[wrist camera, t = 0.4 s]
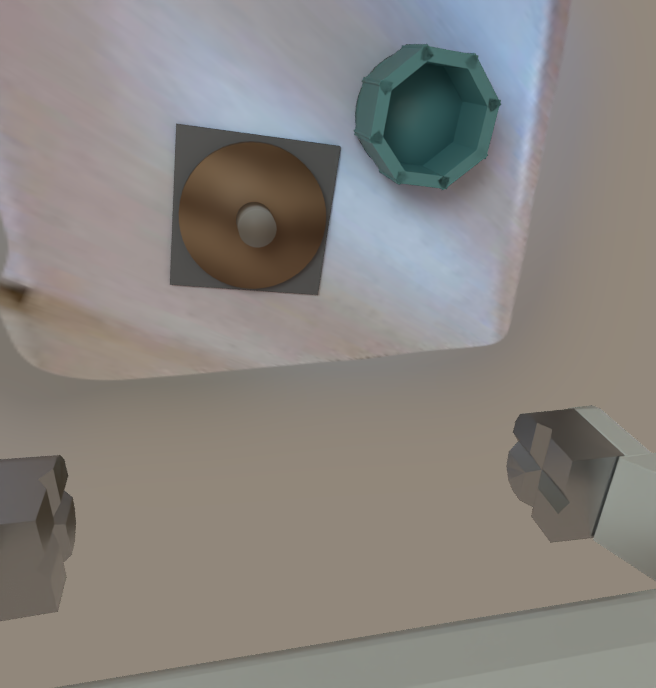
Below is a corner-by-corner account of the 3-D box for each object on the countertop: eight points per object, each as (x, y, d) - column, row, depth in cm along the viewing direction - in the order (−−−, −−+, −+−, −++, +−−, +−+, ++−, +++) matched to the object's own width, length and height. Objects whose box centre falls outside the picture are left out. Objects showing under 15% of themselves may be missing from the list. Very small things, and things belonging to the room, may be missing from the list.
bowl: (365, 37, 48) (386, 36, 43) (479, 58, 51) (512, 60, 45) (344, 167, 52) (361, 180, 47) (450, 180, 55) (478, 194, 50)
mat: (176, 123, 48) (176, 124, 48) (339, 146, 52) (340, 146, 51) (170, 282, 54) (169, 284, 54) (316, 293, 57) (317, 294, 57)
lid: (182, 131, 48) (181, 138, 45) (334, 151, 51) (344, 159, 48) (175, 279, 54) (174, 295, 50) (313, 289, 57) (321, 305, 53)
